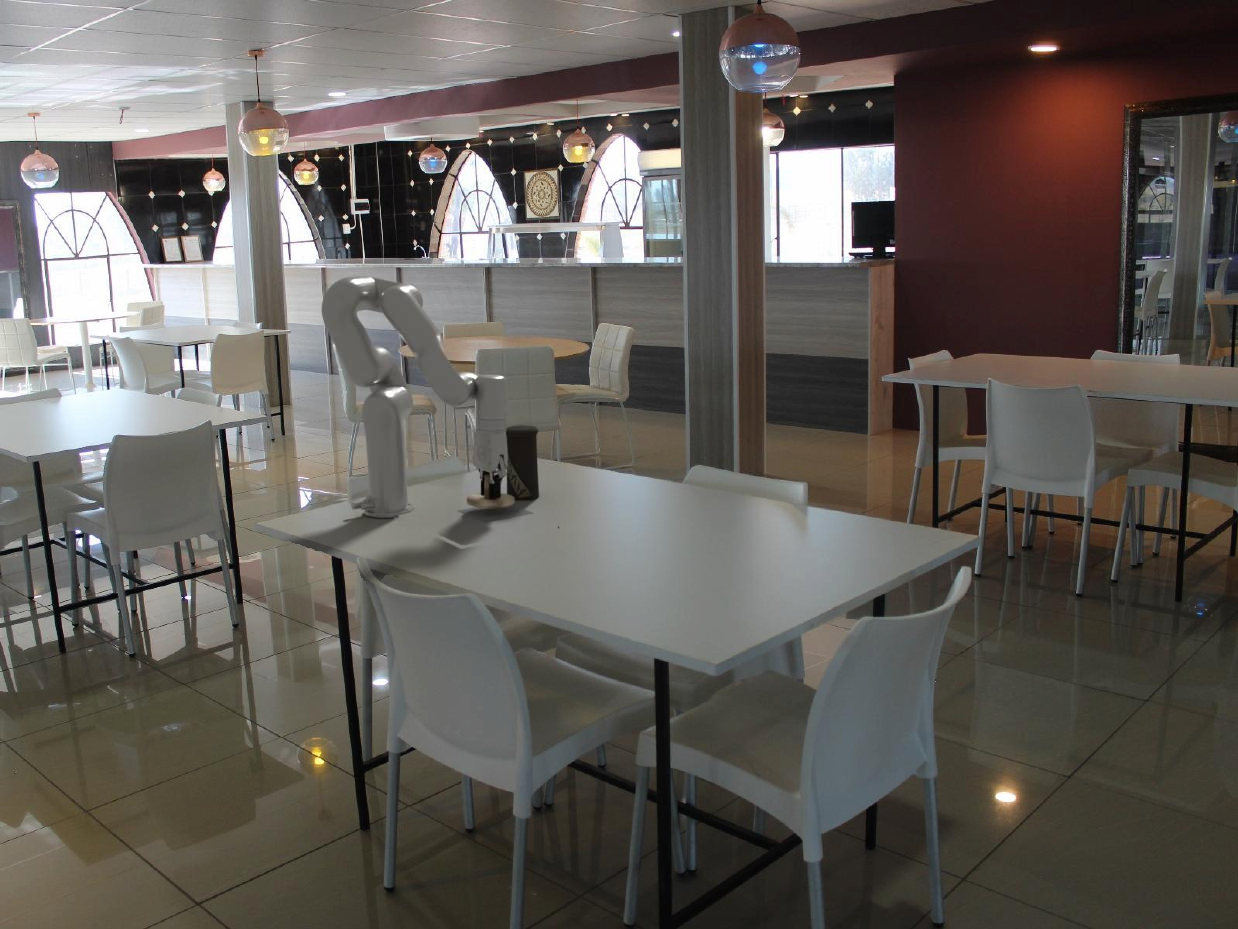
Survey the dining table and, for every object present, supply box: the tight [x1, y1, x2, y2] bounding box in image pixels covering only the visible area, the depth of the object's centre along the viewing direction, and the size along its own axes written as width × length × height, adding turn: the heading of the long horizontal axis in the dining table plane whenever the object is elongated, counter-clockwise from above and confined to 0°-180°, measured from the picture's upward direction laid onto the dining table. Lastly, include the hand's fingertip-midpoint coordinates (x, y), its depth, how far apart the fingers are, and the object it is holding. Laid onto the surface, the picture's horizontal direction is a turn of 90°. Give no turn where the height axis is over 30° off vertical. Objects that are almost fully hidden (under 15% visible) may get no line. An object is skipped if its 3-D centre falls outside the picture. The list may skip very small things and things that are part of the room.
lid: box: [466, 473, 516, 508], centre depth 277 cm, size 12×12×7 cm
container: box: [506, 424, 540, 502], centre depth 292 cm, size 9×9×20 cm
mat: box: [457, 504, 534, 523], centre depth 279 cm, size 14×14×1 cm
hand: (490, 495), depth 278 cm, fingers closed on lid, 3 cm apart
